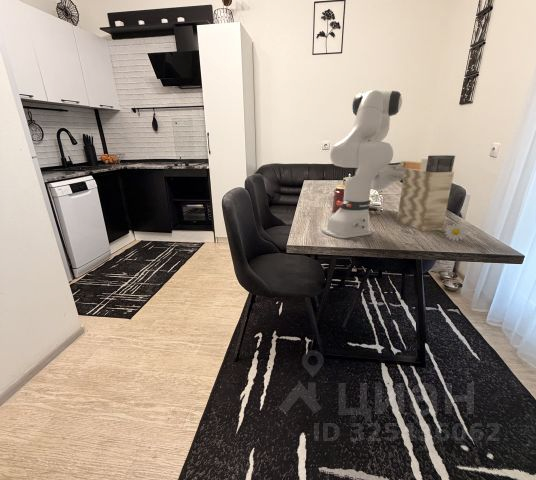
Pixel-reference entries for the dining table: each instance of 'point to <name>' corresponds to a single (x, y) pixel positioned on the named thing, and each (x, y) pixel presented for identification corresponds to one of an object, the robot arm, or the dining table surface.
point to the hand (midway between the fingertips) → (407, 163)
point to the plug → (416, 164)
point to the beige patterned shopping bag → (426, 194)
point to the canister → (338, 196)
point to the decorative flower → (455, 232)
